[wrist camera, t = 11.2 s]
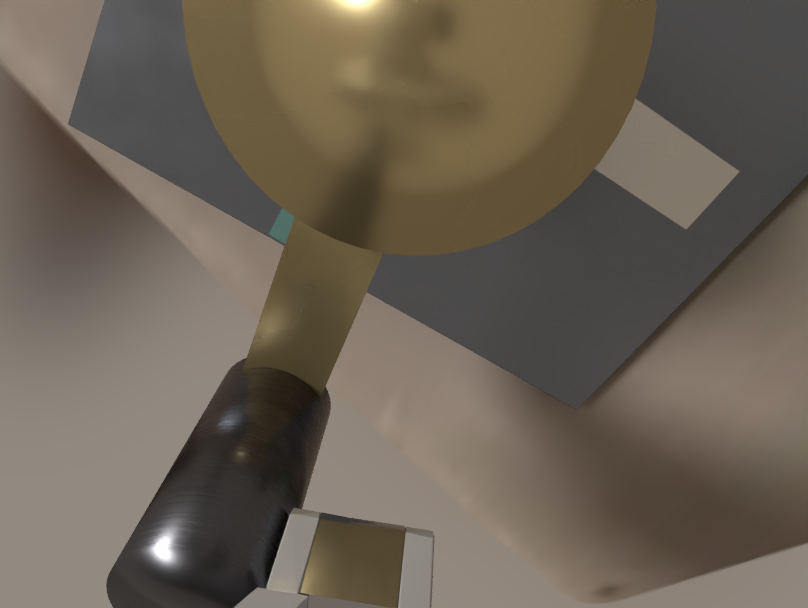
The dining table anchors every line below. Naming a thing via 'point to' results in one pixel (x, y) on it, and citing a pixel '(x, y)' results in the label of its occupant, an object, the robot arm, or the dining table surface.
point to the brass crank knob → (363, 217)
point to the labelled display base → (562, 226)
